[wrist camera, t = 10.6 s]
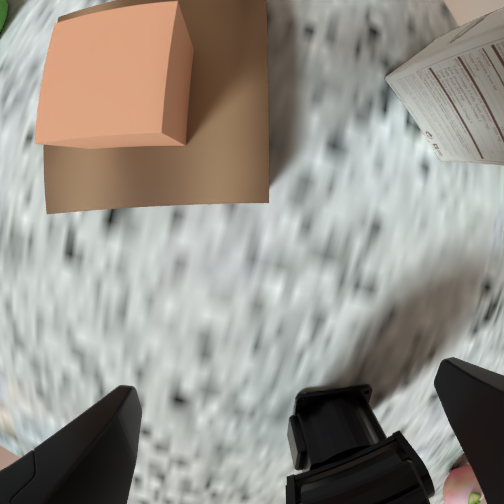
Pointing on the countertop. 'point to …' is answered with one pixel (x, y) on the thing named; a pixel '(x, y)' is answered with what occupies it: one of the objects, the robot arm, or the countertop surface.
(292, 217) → the countertop surface
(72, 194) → the walnut block
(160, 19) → the terracotta cube
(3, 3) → the wine bottle
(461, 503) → the decorative fruit
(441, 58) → the supplement box
